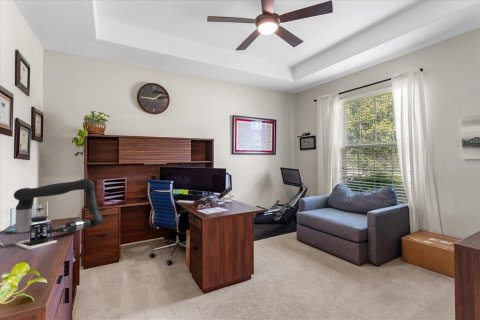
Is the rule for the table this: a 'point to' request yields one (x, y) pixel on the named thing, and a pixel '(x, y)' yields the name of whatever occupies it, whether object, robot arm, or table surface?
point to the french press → (39, 237)
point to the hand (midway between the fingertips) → (47, 231)
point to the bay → (32, 246)
